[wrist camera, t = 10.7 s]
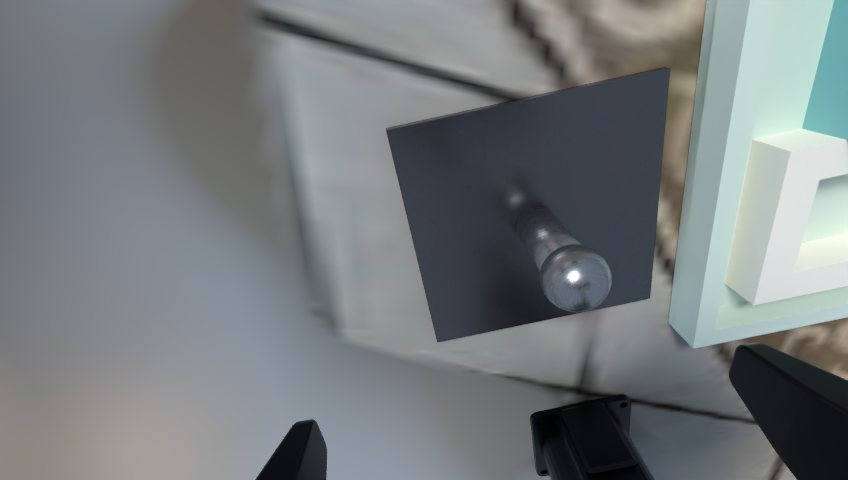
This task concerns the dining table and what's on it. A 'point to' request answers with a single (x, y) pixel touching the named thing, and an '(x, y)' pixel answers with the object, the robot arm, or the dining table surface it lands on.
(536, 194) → the peg stand
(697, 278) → the tray
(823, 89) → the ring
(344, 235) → the dining table surface
